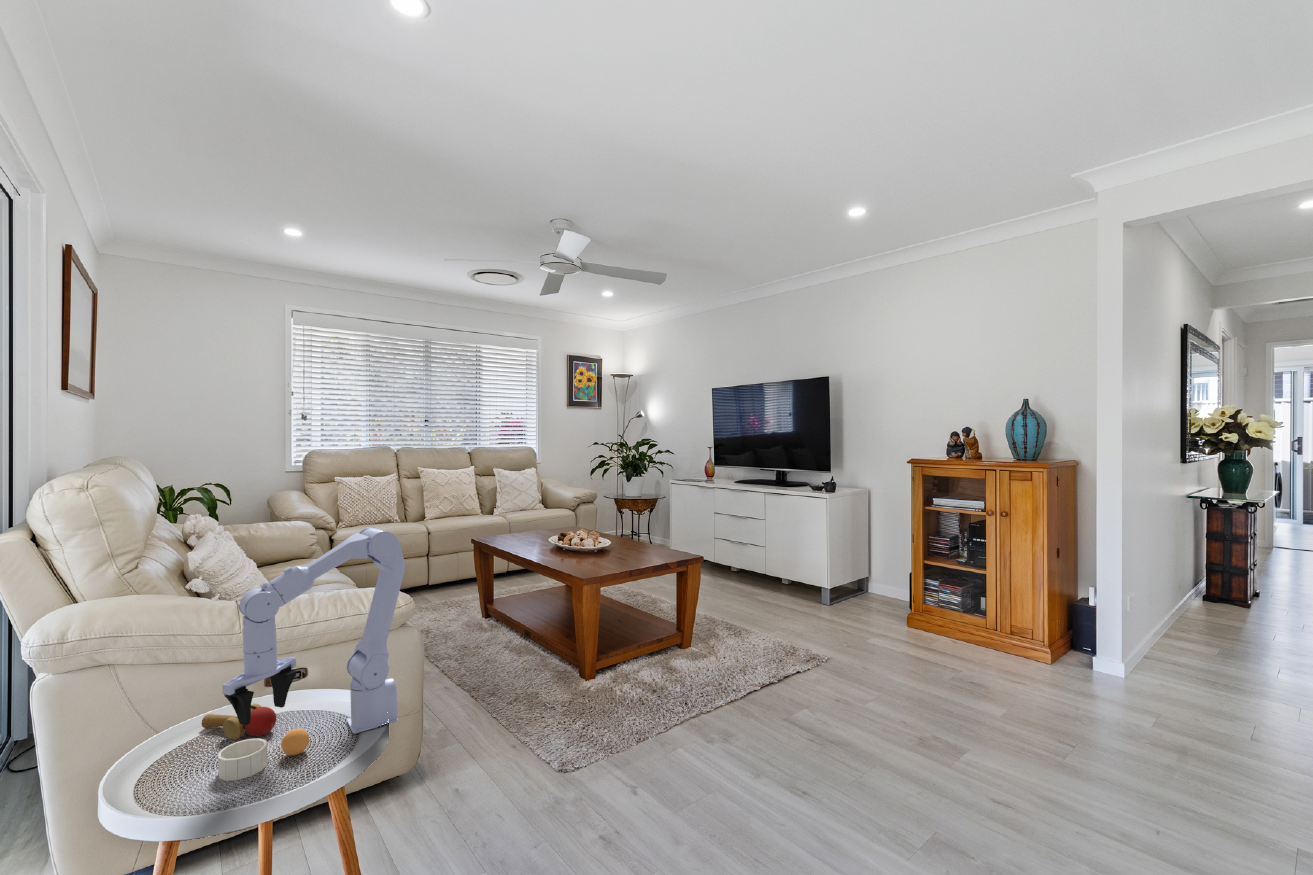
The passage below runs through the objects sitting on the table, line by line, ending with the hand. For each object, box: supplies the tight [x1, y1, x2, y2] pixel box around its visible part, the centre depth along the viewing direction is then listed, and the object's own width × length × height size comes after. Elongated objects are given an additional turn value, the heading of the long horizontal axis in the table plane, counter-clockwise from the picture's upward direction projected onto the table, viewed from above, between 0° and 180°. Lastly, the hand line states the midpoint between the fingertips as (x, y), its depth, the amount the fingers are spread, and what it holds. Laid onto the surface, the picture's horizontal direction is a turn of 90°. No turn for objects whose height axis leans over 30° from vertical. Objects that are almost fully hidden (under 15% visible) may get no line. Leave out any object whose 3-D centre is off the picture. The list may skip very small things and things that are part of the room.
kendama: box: [201, 703, 277, 740], centre depth 136 cm, size 8×6×18 cm
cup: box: [217, 737, 269, 782], centre depth 121 cm, size 8×8×4 cm
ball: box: [280, 728, 310, 757], centre depth 126 cm, size 5×5×5 cm
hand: (262, 714), depth 125 cm, fingers open, 7 cm apart
